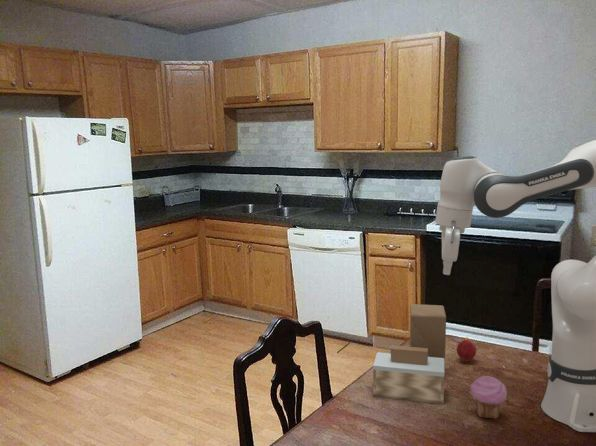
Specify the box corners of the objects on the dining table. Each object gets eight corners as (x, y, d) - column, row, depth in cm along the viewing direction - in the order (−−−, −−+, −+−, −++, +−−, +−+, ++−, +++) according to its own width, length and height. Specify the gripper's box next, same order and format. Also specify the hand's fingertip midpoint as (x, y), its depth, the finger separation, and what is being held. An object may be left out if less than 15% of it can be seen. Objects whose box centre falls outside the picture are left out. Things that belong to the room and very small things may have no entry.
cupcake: (470, 421, 129) (471, 384, 127) (468, 403, 137) (469, 369, 136) (508, 425, 127) (509, 388, 125) (503, 407, 135) (505, 372, 133)
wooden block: (444, 380, 150) (446, 316, 147) (410, 378, 152) (410, 314, 149) (442, 365, 160) (443, 304, 157) (409, 363, 162) (410, 303, 159)
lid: (444, 365, 145) (444, 345, 144) (444, 380, 136) (444, 358, 135) (377, 359, 150) (377, 339, 149) (373, 373, 141) (373, 352, 140)
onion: (478, 365, 160) (479, 341, 158) (459, 365, 160) (460, 341, 158) (472, 357, 165) (473, 334, 164) (454, 357, 165) (455, 334, 164)
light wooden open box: (443, 388, 146) (444, 362, 144) (443, 404, 137) (444, 376, 136) (377, 381, 151) (377, 356, 150) (373, 396, 142) (373, 369, 141)
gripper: (468, 227, 121) (459, 282, 124) (464, 213, 141) (457, 261, 143) (440, 223, 123) (433, 278, 126) (440, 211, 142) (434, 258, 145)
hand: (446, 269), depth 135 cm, fingers open, 8 cm apart
